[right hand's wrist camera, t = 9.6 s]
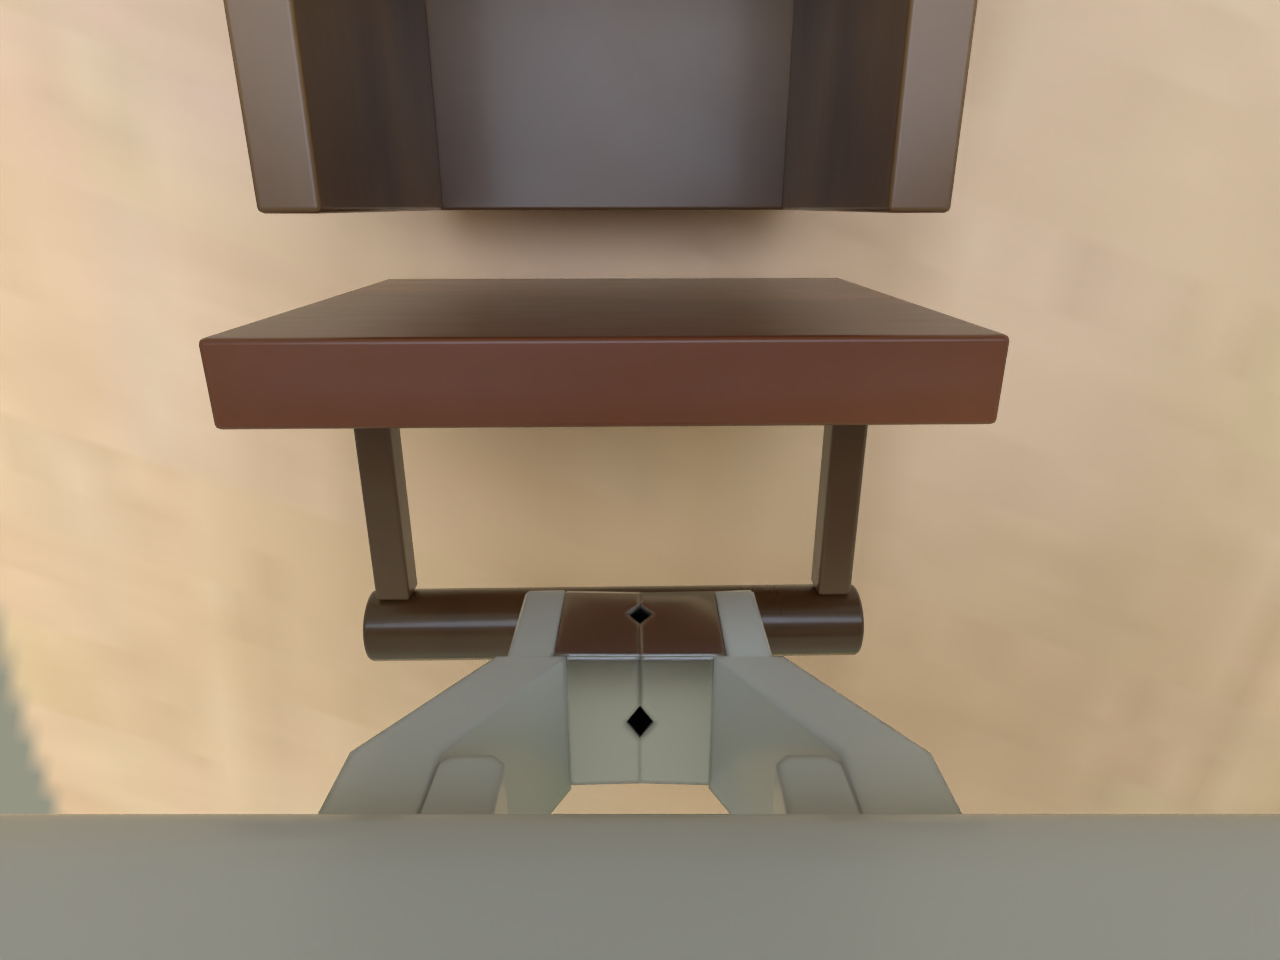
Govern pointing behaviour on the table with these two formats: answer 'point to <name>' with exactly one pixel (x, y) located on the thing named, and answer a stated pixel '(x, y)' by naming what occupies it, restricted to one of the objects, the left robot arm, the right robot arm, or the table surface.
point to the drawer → (602, 308)
